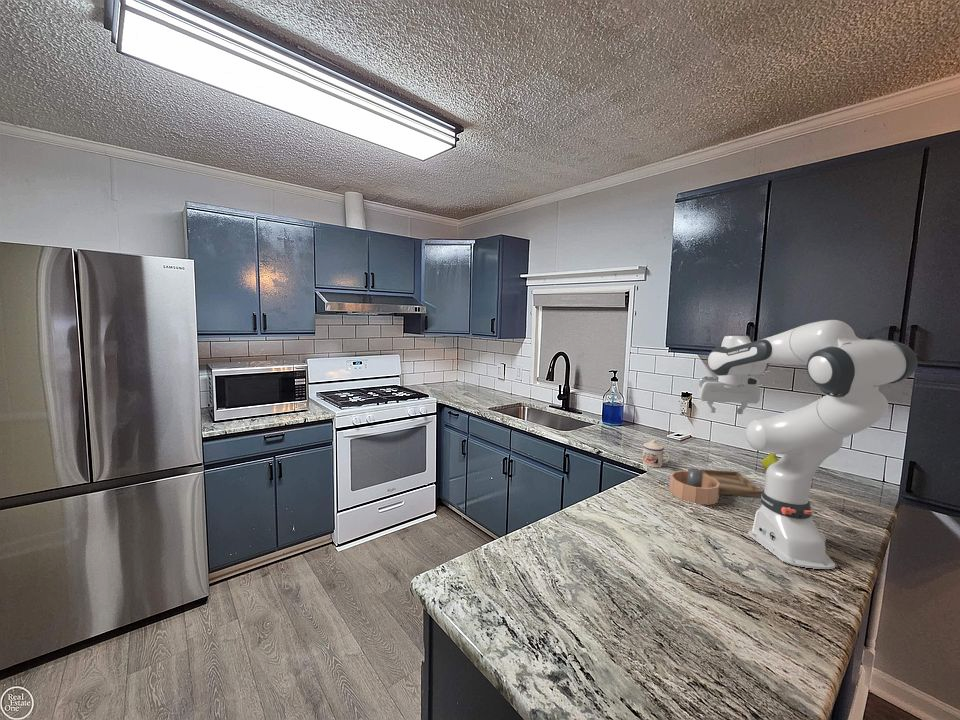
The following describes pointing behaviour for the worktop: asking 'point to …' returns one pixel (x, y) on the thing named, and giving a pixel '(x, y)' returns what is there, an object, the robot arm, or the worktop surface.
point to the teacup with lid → (653, 454)
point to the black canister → (694, 477)
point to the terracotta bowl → (694, 488)
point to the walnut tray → (733, 484)
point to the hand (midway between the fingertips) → (725, 412)
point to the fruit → (769, 460)
